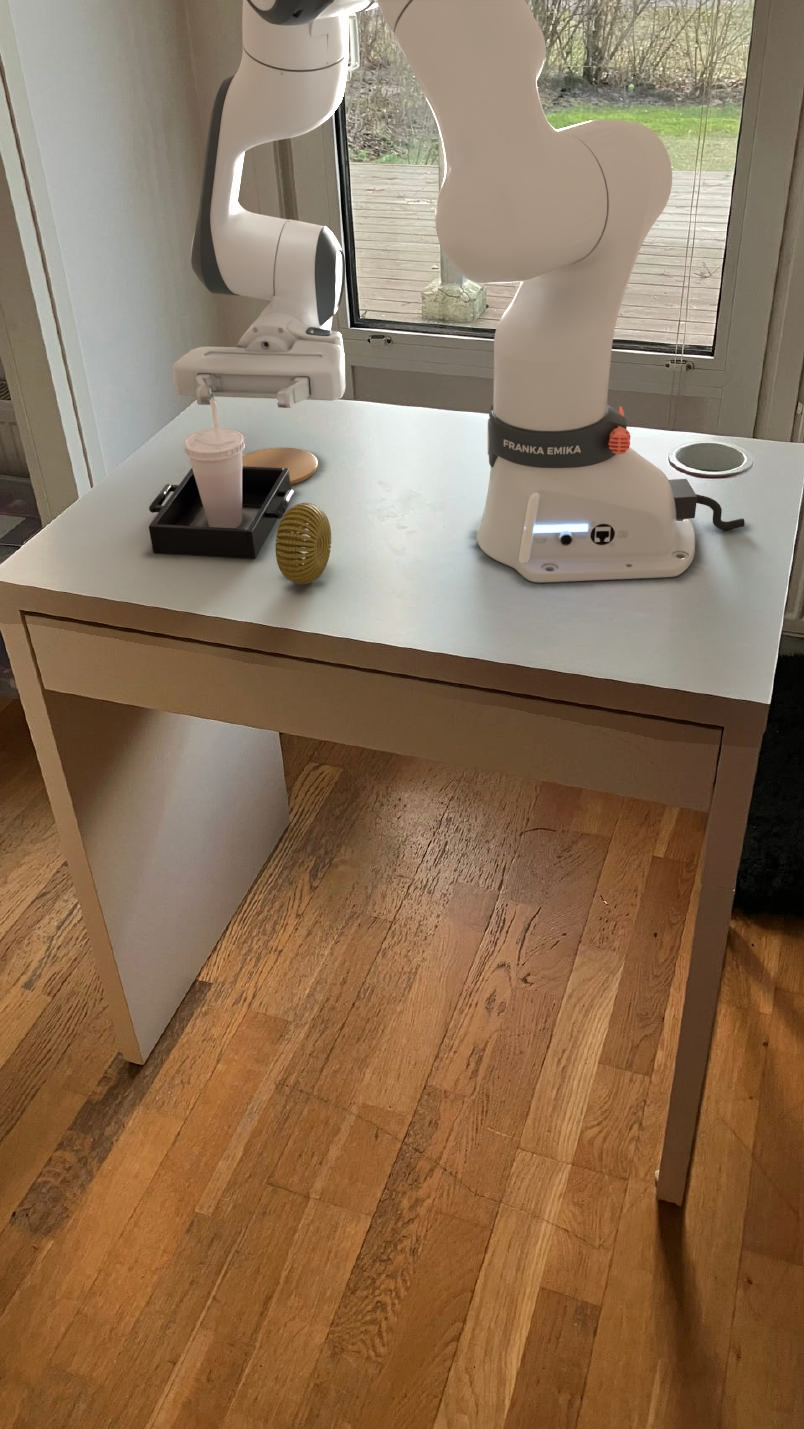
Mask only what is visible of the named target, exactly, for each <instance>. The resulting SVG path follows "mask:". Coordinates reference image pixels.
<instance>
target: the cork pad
mask: <svg viewBox="0 0 804 1429" xmlns="http://www.w3.org/2000/svg"><path fill="white" fill-rule="evenodd" d="M318 463H319V462H318V459H317V457H316V456H315V455H314V454H312V453H311V452H309V451H306V450H303V449H301V448H295V447H270V448H269V447H268V448H263V449H259V450H255V451H251V452H250V453H249V452H248V453H247V454H244V455H242V466H245V467H269V468H289V474H290V484H291V485H295V484H298V483H301V482H304V481H306V480H307V479H310V477H312V476H313V475H315V473H316V472H317V470H318V466H319V464H318Z"/></svg>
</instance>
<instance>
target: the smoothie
mask: <svg viewBox="0 0 804 1429" xmlns="http://www.w3.org/2000/svg"><path fill="white" fill-rule="evenodd" d="M210 406H211V414H212V421H213V422H212V423H213V428H206V429H201V430H198V431H196V432H193V433H191V434H190V435H188V436H187V437H186V438H185V439H184V441H183V448H184V449H183V450H184V451H183V452H184V454H185V455H186V457H188V459H189V462H190V465H191V468H192V469H193V473H194V476H195V480H196V483H197V487H198V490H199V494H200V497H201V501H202V504H203V507H202V508H203V511H204V514H205V518H206V522H207V525H208V527H221V528H238V527H240V526H241V524H242V523H243V508H242V457H243V451H244V450H245V447H246V444H245V439H244V435H243V434H242V432H239V431H238V430H235V429H232V428H223V427H220V420H219V411H218V405H217V399H216V398H214V399H212V400H211V405H210Z"/></svg>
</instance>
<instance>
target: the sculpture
mask: <svg viewBox="0 0 804 1429" xmlns="http://www.w3.org/2000/svg"><path fill="white" fill-rule="evenodd" d="M331 549H332V528H331V524H330V521H329V518H328V516H327V514H326V513H325V511H323V509H322V508H320V507H319V506H317V505H316V504H313V503H310V502H300V503H297V504H295V505H293V506H291V507H290V508H289V509H288V510H286V511H285V513H284V515H283V516H282V518H281V519H280V522H279V525H278V528H277V532H276V537H275V558H276V564H277V566H278V569H279V570H280V572H281V574H282V575H283V577H284V578H285V579H286V580H288V581H289V582H292V583H293V584H297V585H307V584H311V583H313V582H314V581H316V580H318V579H319V578H320V576H321V575H322V574H323V573H324V571H325V570H326V567H327V565H328V561H329V559H330V556H331V555H330V554H331Z"/></svg>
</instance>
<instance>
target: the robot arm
mask: <svg viewBox="0 0 804 1429" xmlns="http://www.w3.org/2000/svg"><path fill="white" fill-rule="evenodd" d="M377 7H378V9H379V11H380V13H381V15H382V17H383V19H384V21H385V23H386V25H387V27H388V29H389V31H390V33H391V35H392V36H393V39H394V41H396V44H397V47H398V48H399V49H400V51H401V53H402V55H403V58H404V59H405V60H406V62H407V64H408V66H409V68H410V70H411V72H412V73H413V76H414V77H415V79H416V81H417V84H418V86H419V87H420V89H421V92H422V93H423V95H424V97H425V99H426V101H427V103H428V105H429V107H430V109H431V111H432V113H433V116H434V119H435V121H436V124H437V127H438V131H439V135H440V138H441V142H442V143H441V144H442V149H443V157H444V177H443V180H442V184H441V187H440V189H439V191H438V195H437V198H436V203H435V213H434V215H435V216H434V220H435V221H434V222H435V230H436V235H437V236H436V237H437V239H438V242H439V245H440V248H441V250H442V252H443V254H444V256H445V258H446V260H448V262H449V264H450V265H451V267H452V268H453V269H454V270H455V271H456V272H457V273H458V275H460V276H462V277H463V278H464V279H467V280H468V281H471V282H474V283H477V284H506V283H508V284H509V283H519V282H520V284H519V286H518V289H517V292H516V293H515V296H514V298H513V300H512V302H511V303H510V304H509V306H508V307H507V308H506V310H505V311H504V313H503V315H501V317H500V319H499V322H498V324H497V326H496V328H495V333H494V337H493V401H492V402H493V403H492V405H491V406H490V409H489V410H490V411H489V413H488V418H487V435H486V436H487V437H486V438H487V440H486V441H487V442H486V443H487V444H486V445H487V456H488V464H489V466H490V471H489V480H488V485H487V486H488V487H487V493H486V499H485V504H484V509H483V512H482V516H481V519H480V523H479V526H478V529H477V531H476V541H477V545H478V546H479V548H480V549H481V550H482V551H483V553H485V554H486V555H487V556H489V557H490V558H492V559H493V560H495V561H497V562H499V563H501V564H503V565H506V566H509V567H510V568H513V569H514V570H516V571H517V573H519V574H520V575H521V577H523V578H525V579H526V580H528V581H529V582H531V583H532V582H533V583H560V582H563V583H564V582H585V581H587V582H588V581H607V580H608V581H609V580H610V581H611V580H633V579H635V580H636V579H655V578H658V579H659V578H674V577H678V576H680V575H682V574H683V573H684V572H685V571H686V570H687V569H688V568H689V567H690V565H691V564H692V563H693V560H694V558H695V554H696V533H695V528H694V525H693V522H692V521H691V519H696V512H697V511H696V509H697V504H699V505H703V506H707V507H709V508H710V509H711V510H712V524H713V526H714V527H716V528H717V529H719V530H721V531H722V530H723V531H730V530H735V529H738V528H744V527H745V521H746V520H745V518H736V519H732V520H728V521H727V520H726V521H724V520H722V515H723V509H722V506H721V504H720V503H719V502H718V501H717V500H715V499H714V498H711V497H709V496H707V495H706V496H705V495H702V494H697V493H696V492H695V490H694V488H693V487H692V485H691V483H690V482H689V481H688V479H687V478H674V479H673V478H672V479H669V478H668V477H667V475H666V473H665V472H664V471H663V470H662V469H661V468H659V467H658V466H656V465H655V464H654V463H652V462H651V461H650V460H648V459H646V458H645V457H644V456H642V455H641V454H640V453H639V452H637V451H636V450H634V448H632V447H631V434H630V431H629V430H628V429H627V428H628V426H627V425H628V424H627V420H628V419H627V418H626V417H625V411H624V409H623V406H621V405H620V406H619V411H617V410H616V409H615V408H613V407H612V406H610V405H609V404H608V397H609V383H610V372H611V371H610V370H611V362H612V361H611V360H612V350H613V349H612V348H613V341H614V336H615V329H616V325H617V320H618V317H619V314H620V309H621V306H622V304H623V303H622V302H623V299H624V296H625V293H626V290H627V287H628V284H629V281H630V278H631V275H632V273H633V269H634V266H635V264H636V262H637V258H638V255H639V253H640V250H641V249H642V246H643V244H644V241H645V239H646V238H647V236H648V234H649V232H650V230H651V229H652V227H653V226H654V224H655V223H656V222H657V220H658V219H659V217H660V216H661V215H662V213H663V212H664V210H665V208H666V206H667V205H668V202H669V199H670V196H671V193H672V192H671V191H672V188H673V187H672V186H673V168H672V163H671V158H670V155H669V152H668V149H667V147H666V146H665V143H664V142H663V141H662V139H661V138H660V137H659V135H658V134H657V133H656V132H655V131H654V130H652V129H651V128H649V127H648V126H647V125H645V124H642V123H640V122H635V121H629V120H621V119H603V118H600V119H598V118H597V119H592V120H589V121H585V122H581V123H577V124H574V125H570V126H566V127H562V128H559V129H555V127H553V126H552V125H551V124H550V122H549V121H548V119H547V116H546V115H545V112H544V110H543V106H542V103H541V98H540V94H539V91H538V90H539V89H538V83H537V81H538V78H539V77H540V74H541V72H542V70H543V67H544V63H545V60H546V52H547V49H546V48H547V47H546V46H547V45H546V39H545V35H544V33H543V31H542V29H541V27H540V25H539V24H538V22H537V20H536V18H535V16H534V14H533V13H532V11H531V9H530V7H529V5H528V3H527V2H526V0H242V13H241V14H242V16H241V18H242V19H241V20H242V21H241V29H242V30H241V33H242V38H241V39H242V53H241V60H240V64H239V67H238V68H237V69H238V70H237V71H236V73H235V74H234V75H231V76H230V77H226V78H225V79H223V81H222V82H221V84H220V85H219V87H218V90H217V92H216V94H215V97H214V101H213V104H212V108H211V112H210V118H209V125H208V130H207V136H206V137H207V138H206V145H205V153H204V160H203V171H202V178H201V189H200V197H199V204H198V213H197V219H196V224H195V229H194V233H193V237H192V241H191V248H190V261H191V262H190V263H191V264H190V265H191V269H192V271H193V273H194V274H195V276H196V277H197V279H198V280H199V281H200V283H202V285H203V286H204V287H205V288H206V289H207V290H208V291H209V292H210V293H211V294H217V295H228V296H237V297H239V296H244V297H249V298H253V299H258V300H264V301H269V304H268V305H267V306H266V307H265V308H264V309H263V310H262V311H261V313H260V315H259V316H258V317H257V318H256V319H255V320H254V321H253V322H252V323H251V324H250V326H249V327H248V329H247V330H246V331H245V332H244V333H243V334H242V336H241V337H240V339H239V341H238V343H237V345H236V346H200V347H195V348H193V349H191V350H190V351H187V353H185V354H184V355H182V356H181V357H180V358H179V359H177V360H176V361H175V362H174V363H173V364H172V379H173V380H172V381H173V384H174V389H175V391H176V392H177V393H178V395H180V396H183V397H184V396H185V397H191V396H192V397H195V398H196V403H197V405H199V406H202V405H203V406H211V400H212V399H215V398H216V397H220V398H244V399H246V398H248V399H271V400H273V399H274V400H275V399H276V400H277V402H276V404H277V408H280V409H281V408H283V409H292V407H293V406H294V404H298V403H300V402H302V401H305V400H306V401H330V402H332V401H337V400H340V399H342V398H343V396H344V395H345V392H346V387H347V386H346V385H347V383H346V382H347V381H346V358H345V349H344V341H343V337H342V334H341V332H339V331H336V330H332V325H333V324H332V323H333V317H334V316H335V314H336V313H337V311H338V310H339V308H340V305H341V302H342V297H343V293H344V287H345V281H346V259H345V254H344V251H343V249H342V247H341V245H340V243H339V240H338V239H337V238H336V236H335V235H334V233H333V232H332V230H330V228H328V227H327V226H326V225H319V224H315V223H311V222H305V221H300V220H295V219H286V218H282V217H275V216H272V215H271V216H270V215H265V214H260V213H255V212H251V211H248V210H246V209H245V208H244V207H243V206H241V205H240V203H239V201H238V200H239V194H240V186H241V180H242V173H243V165H244V158H245V152H246V151H248V150H250V149H252V148H255V147H256V146H259V145H262V144H266V143H270V142H275V141H281V140H287V139H292V138H296V137H299V136H302V135H305V134H307V133H309V132H311V131H313V130H315V129H317V128H318V127H320V126H321V125H322V124H324V123H325V122H326V121H327V120H329V119H330V118H331V117H332V115H333V114H334V113H335V111H336V110H337V109H338V107H339V105H340V104H341V103H342V100H343V97H344V93H345V88H346V83H347V77H348V76H347V75H348V64H349V37H350V36H349V31H350V30H349V29H350V28H349V26H350V24H349V15H350V14H352V13H354V12H355V13H363V12H365V11H369V10H372V9H375V8H377Z"/></svg>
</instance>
